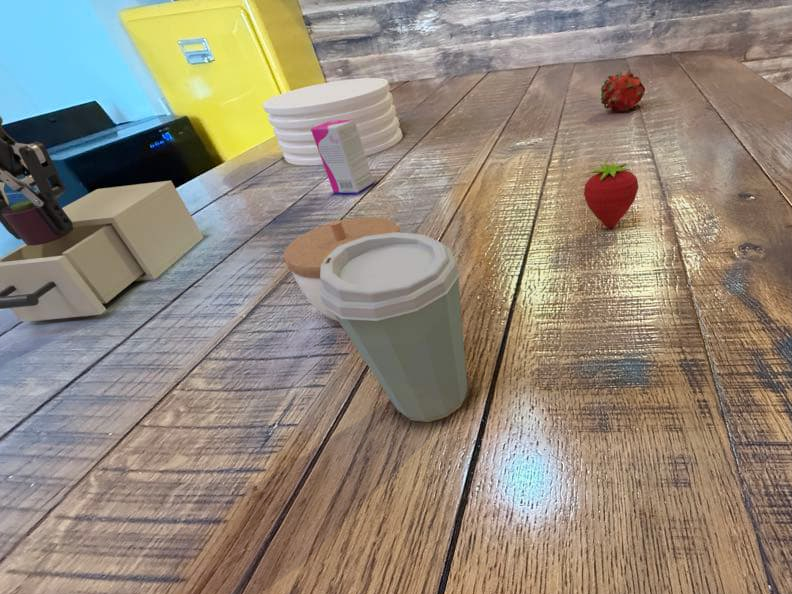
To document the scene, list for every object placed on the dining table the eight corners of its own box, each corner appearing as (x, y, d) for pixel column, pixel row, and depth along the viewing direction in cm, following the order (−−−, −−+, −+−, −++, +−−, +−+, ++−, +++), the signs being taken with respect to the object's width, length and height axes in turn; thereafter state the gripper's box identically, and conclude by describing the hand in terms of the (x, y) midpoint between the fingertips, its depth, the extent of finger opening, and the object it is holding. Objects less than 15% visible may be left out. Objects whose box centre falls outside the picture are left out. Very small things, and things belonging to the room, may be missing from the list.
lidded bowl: (311, 304, 65) (272, 219, 58) (407, 275, 68) (381, 191, 61) (322, 354, 56) (277, 261, 49) (432, 319, 59) (405, 226, 52)
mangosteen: (16, 247, 65) (-12, 213, 62) (45, 231, 69) (19, 198, 66) (52, 243, 65) (25, 209, 62) (79, 227, 68) (54, 194, 66)
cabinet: (155, 280, 76) (112, 217, 69) (77, 288, 77) (28, 226, 70) (204, 238, 87) (171, 180, 80) (135, 246, 88) (97, 189, 81)
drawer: (76, 334, 64) (28, 278, 58) (-7, 342, 65) (-62, 287, 59) (158, 266, 77) (125, 216, 72) (89, 273, 78) (51, 224, 73)
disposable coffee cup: (492, 362, 51) (460, 216, 41) (486, 439, 43) (445, 281, 33) (389, 373, 52) (334, 231, 42) (364, 450, 44) (289, 298, 34)
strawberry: (645, 229, 71) (647, 152, 64) (594, 241, 69) (591, 164, 63) (627, 215, 75) (628, 141, 68) (579, 226, 74) (575, 152, 67)
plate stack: (300, 175, 109) (276, 115, 101) (274, 150, 127) (252, 98, 119) (420, 141, 118) (406, 84, 111) (379, 123, 137) (365, 73, 129)
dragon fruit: (596, 123, 119) (639, 120, 124) (614, 103, 112) (659, 101, 116) (588, 86, 119) (631, 85, 123) (606, 63, 111) (651, 62, 115)
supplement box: (376, 184, 98) (355, 118, 91) (358, 196, 94) (335, 127, 87) (351, 184, 100) (329, 119, 93) (333, 195, 96) (308, 128, 89)
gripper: (16, 70, 58) (115, 218, 69) (-98, 85, 59) (18, 228, 70) (-41, 83, 52) (77, 242, 63) (-166, 100, 53) (-28, 252, 64)
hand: (45, 234), depth 67 cm, fingers closed on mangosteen, 5 cm apart
